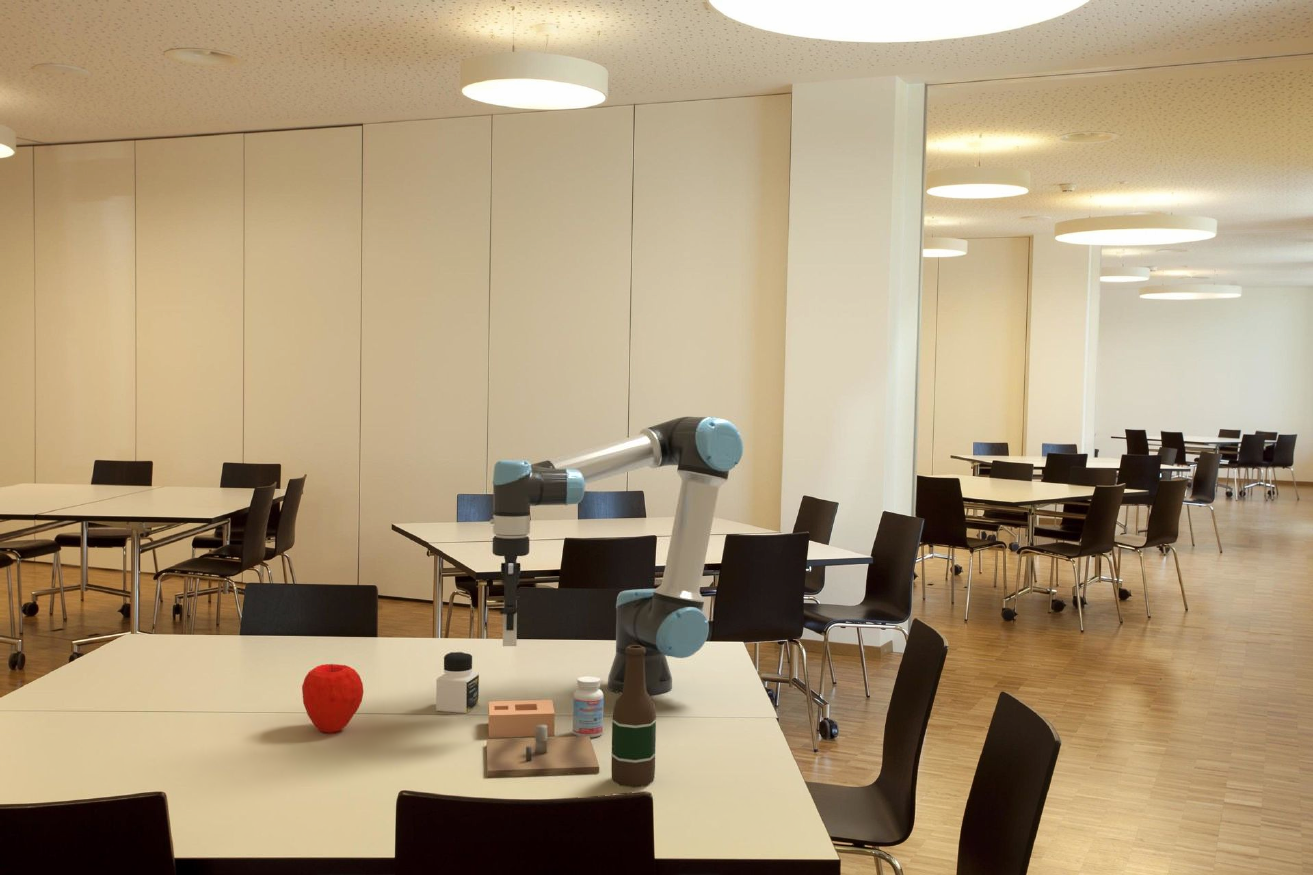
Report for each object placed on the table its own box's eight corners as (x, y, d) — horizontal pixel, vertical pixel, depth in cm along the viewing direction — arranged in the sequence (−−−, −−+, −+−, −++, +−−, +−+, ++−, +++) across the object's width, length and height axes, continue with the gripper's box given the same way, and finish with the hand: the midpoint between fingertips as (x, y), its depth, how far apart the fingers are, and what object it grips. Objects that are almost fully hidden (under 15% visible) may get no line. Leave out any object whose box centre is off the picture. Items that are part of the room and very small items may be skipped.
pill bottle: (580, 740, 219) (580, 684, 218) (568, 731, 224) (568, 676, 224) (607, 736, 221) (608, 680, 221) (595, 728, 227) (596, 673, 226)
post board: (589, 742, 217) (589, 710, 217) (599, 772, 200) (599, 739, 200) (486, 745, 214) (487, 713, 214) (487, 777, 197) (487, 742, 196)
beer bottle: (610, 772, 200) (612, 641, 199) (653, 772, 201) (655, 641, 200) (612, 788, 192) (614, 651, 191) (656, 787, 193) (659, 651, 192)
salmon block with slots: (551, 720, 231) (551, 699, 231) (554, 735, 221) (554, 713, 221) (488, 722, 229) (488, 701, 229) (489, 737, 219) (489, 715, 219)
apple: (374, 725, 226) (374, 660, 226) (340, 741, 215) (340, 673, 215) (325, 718, 230) (325, 655, 230) (289, 734, 219) (289, 667, 218)
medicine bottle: (467, 713, 235) (467, 658, 235) (435, 711, 237) (436, 655, 236) (479, 704, 242) (479, 650, 242) (448, 702, 244) (448, 648, 243)
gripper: (493, 528, 238) (492, 625, 239) (491, 543, 213) (490, 652, 214) (528, 528, 239) (527, 625, 240) (530, 543, 214) (528, 652, 215)
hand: (509, 638), depth 227 cm, fingers open, 13 cm apart
